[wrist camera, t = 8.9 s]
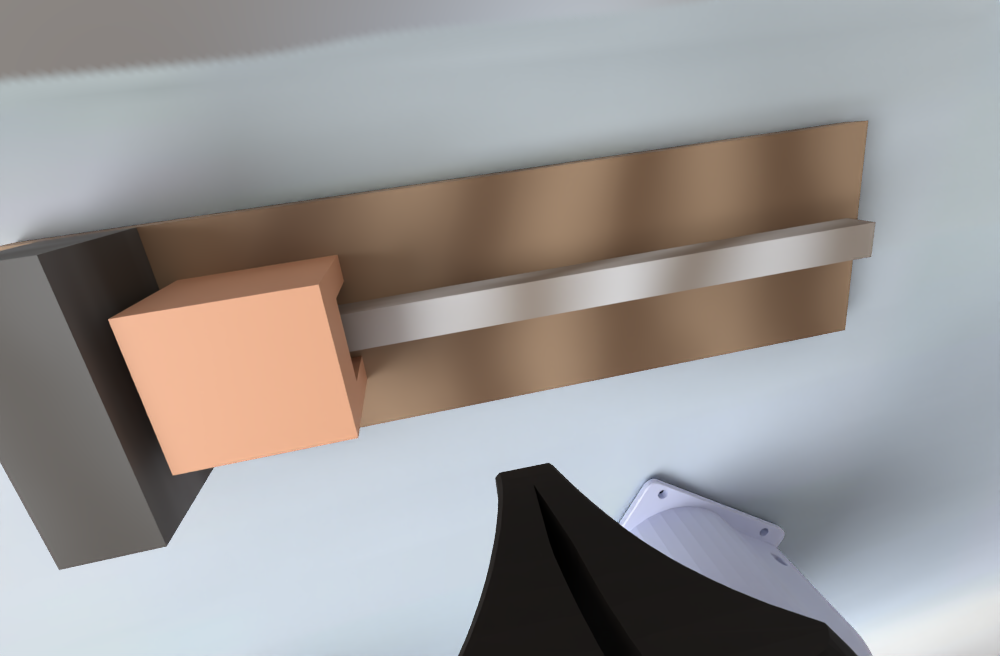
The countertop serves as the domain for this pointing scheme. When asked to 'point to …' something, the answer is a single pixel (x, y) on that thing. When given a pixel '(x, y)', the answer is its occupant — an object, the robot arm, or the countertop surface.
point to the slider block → (244, 364)
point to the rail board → (433, 301)
